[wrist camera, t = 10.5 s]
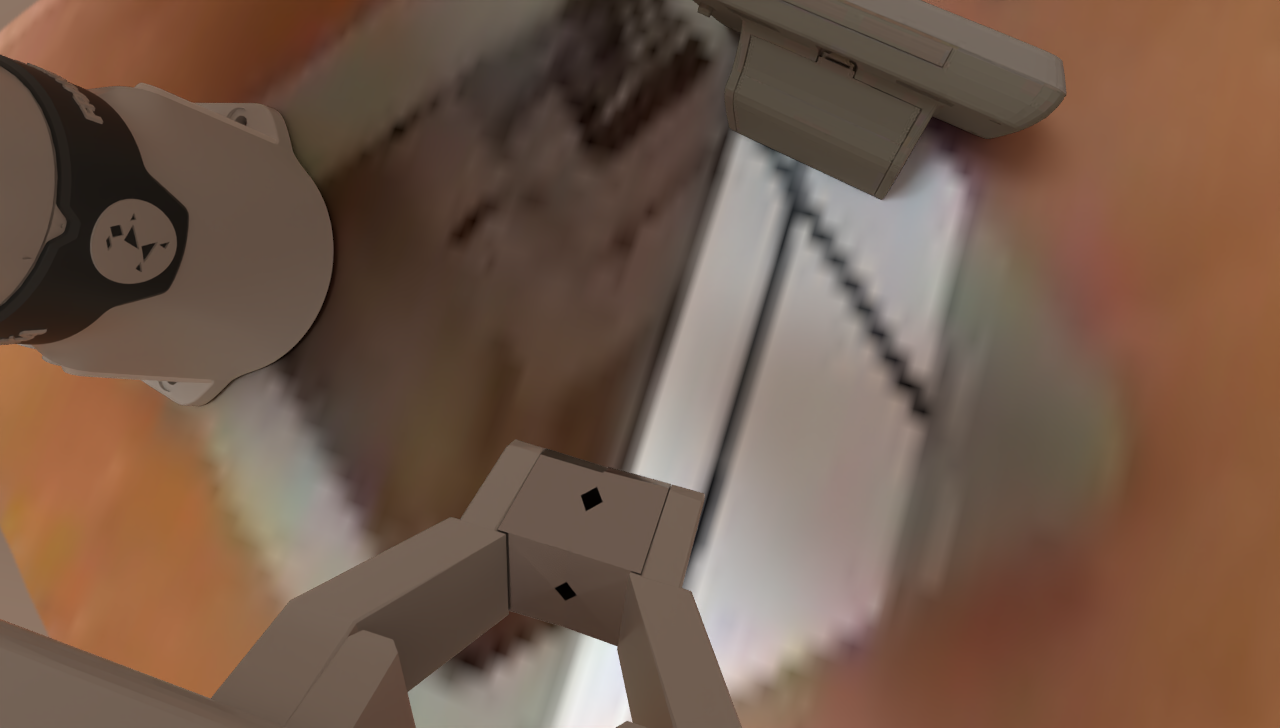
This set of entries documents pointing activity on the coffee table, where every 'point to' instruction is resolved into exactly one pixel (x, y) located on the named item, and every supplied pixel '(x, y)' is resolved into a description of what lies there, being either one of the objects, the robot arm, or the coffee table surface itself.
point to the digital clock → (875, 81)
